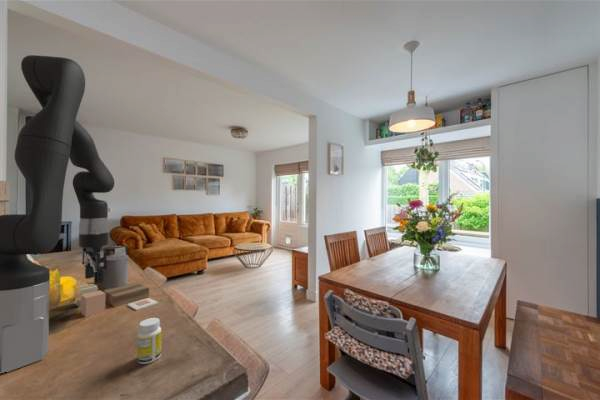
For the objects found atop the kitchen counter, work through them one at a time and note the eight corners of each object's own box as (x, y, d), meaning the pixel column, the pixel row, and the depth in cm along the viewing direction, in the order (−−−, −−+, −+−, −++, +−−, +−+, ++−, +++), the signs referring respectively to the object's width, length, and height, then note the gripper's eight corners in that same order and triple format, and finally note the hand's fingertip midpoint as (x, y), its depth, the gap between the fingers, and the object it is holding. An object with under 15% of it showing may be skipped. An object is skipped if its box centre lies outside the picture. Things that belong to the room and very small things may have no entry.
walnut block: (148, 298, 93) (149, 287, 93) (114, 308, 84) (114, 296, 84) (136, 292, 99) (136, 282, 99) (103, 301, 90) (103, 290, 90)
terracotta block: (105, 311, 81) (105, 293, 81) (85, 317, 76) (86, 298, 77) (99, 307, 83) (99, 290, 84) (80, 313, 79) (81, 294, 79)
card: (158, 303, 87) (158, 301, 87) (136, 310, 81) (136, 308, 81) (148, 299, 91) (148, 297, 91) (127, 305, 85) (127, 303, 85)
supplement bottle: (156, 349, 60) (157, 314, 60) (164, 357, 57) (165, 320, 57) (134, 359, 56) (134, 322, 56) (141, 367, 53) (141, 329, 53)
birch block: (97, 302, 88) (97, 286, 88) (78, 307, 83) (79, 290, 84) (92, 299, 90) (92, 283, 91) (74, 304, 86) (74, 287, 86)
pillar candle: (92, 292, 97) (93, 255, 97) (117, 284, 107) (117, 250, 107) (109, 295, 94) (110, 257, 95) (133, 287, 104) (134, 252, 104)
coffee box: (128, 280, 112) (128, 246, 113) (114, 285, 106) (114, 248, 107) (113, 279, 115) (113, 245, 115) (98, 283, 109) (99, 247, 109)
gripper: (72, 231, 81) (72, 279, 81) (86, 234, 73) (86, 288, 73) (100, 229, 87) (100, 273, 88) (116, 232, 80) (116, 281, 80)
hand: (94, 280), depth 80 cm, fingers open, 8 cm apart
